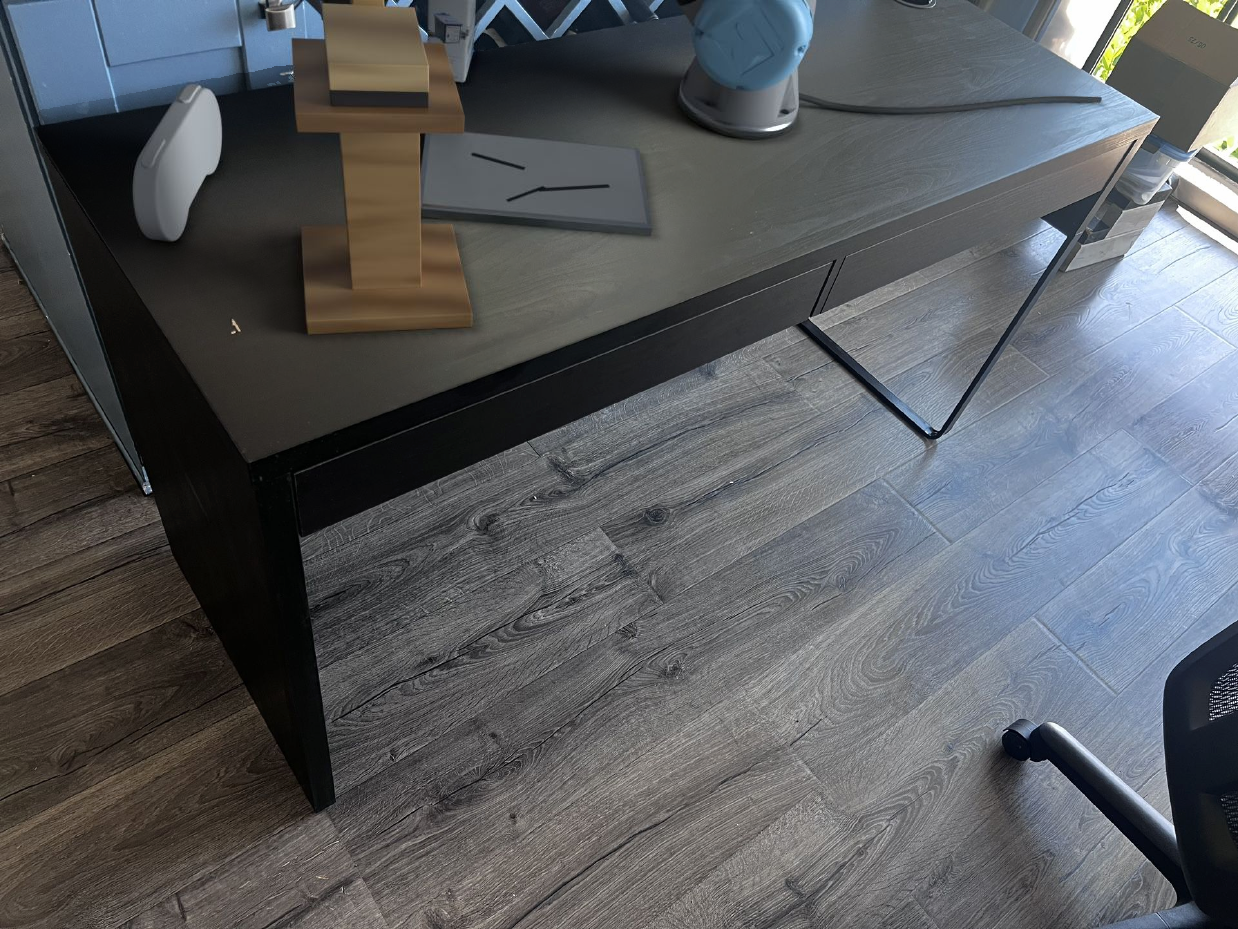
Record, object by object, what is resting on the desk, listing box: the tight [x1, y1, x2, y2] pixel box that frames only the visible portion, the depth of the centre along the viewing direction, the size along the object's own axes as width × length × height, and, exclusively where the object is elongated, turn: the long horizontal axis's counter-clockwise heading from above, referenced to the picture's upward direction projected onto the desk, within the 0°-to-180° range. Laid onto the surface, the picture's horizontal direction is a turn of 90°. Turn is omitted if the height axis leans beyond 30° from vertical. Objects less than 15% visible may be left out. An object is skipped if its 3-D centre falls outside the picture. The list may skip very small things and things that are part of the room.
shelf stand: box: [291, 37, 473, 335], centre depth 79 cm, size 14×14×20 cm
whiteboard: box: [420, 131, 654, 237], centre depth 101 cm, size 24×16×1 cm, turn 94°
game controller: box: [132, 83, 223, 242], centre depth 88 cm, size 20×2×8 cm, turn 1°
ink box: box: [426, 0, 477, 83], centre depth 113 cm, size 9×5×12 cm, turn 179°
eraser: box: [322, 0, 429, 108], centre depth 75 cm, size 22×7×4 cm, turn 14°
